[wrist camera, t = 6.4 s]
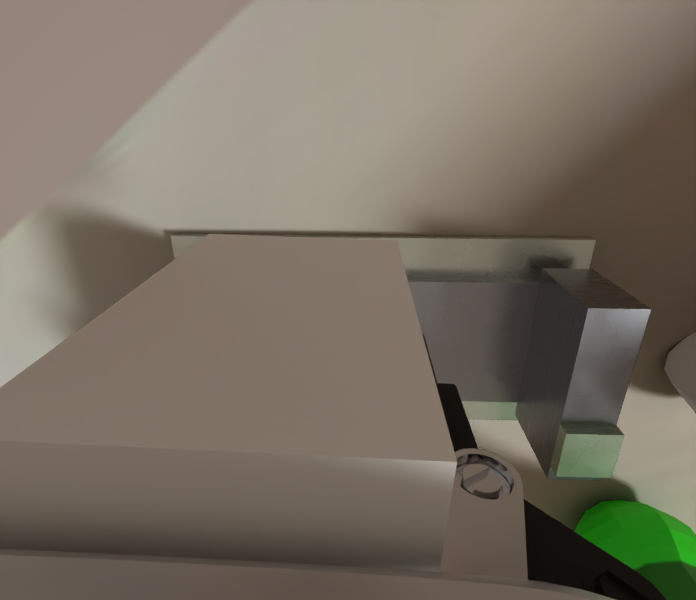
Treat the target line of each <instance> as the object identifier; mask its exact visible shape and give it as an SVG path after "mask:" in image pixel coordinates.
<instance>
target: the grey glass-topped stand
mask: <svg viewBox="0 0 696 600" xmlns="http://www.w3.org/2000/svg"><path fill="white" fill-rule="evenodd" d="M207 235H208V234H173V235H171V242H172V248H173V254H174V259H176V258H177V257H178V256H180V255H181V254H183V253H184V252H185V251H187V250H188V249H189V248H191V247H192V246H193V245H195V244H196V243H197V242H199V241H200V240H201V239H203V238H204V237H206V236H207ZM230 235H258V236H285V237H313V238H340V239H368V240H395V241H397V243H398V247H399V250H400V254H401V258H402V261H403V265H404V269H405V272H406V276H407V280H408V283H409V287H410V291H411V294H412V298H413V302H414V305H415V309H416V313H417V316H418V320H419V324H420V327H421V331H422V334H424V336H425V340H426V344H427V347H428V351H429V354H430V358H431V362H432V365H433V369H434V372H435V376H436V380H437V383H446V384H455V385H456V387H457V389H458V392H459V395H460V398H461V401H462V404H463V407H464V410H465V413H466V416H467V419H481V420H518V421H519V423H520V425H521V427H522V429H523V431H524V433H525V435H526V437H527V439H528V441H529V443H530V445H531V447H532V449H533V451H534V453H535V455H536V457H537V459H538V461H539V463H540V465H541V467H542V469H543V471H544V473H545V475H546V477H547V479H567V480H600V478H611V477H612V473H613V470H614V467H615V464H616V461H617V458H618V454H619V451H620V448H621V445H622V442H623V439H624V434H623V433H622V432H621V430H620V429H619V428H618V427H617V425H616V424H617V421H618V418H619V414H620V411H621V408H622V404H623V401H624V398H625V395H626V391H627V388H628V385H629V381H630V378H631V375H632V371H633V368H634V365H635V362H636V358H637V355H638V352H639V348H640V345H641V342H642V338H643V335H644V332H645V329H646V325H647V322H648V319H649V315H650V312H651V309H650V308H649V307H647V306H646V305H644V304H643V303H641V302H640V301H638V300H637V299H635V298H634V297H633V296H631V295H630V294H628V293H627V292H625V291H624V290H622V289H621V288H619V287H618V286H616V285H615V284H613V283H612V282H610V281H609V280H607V279H606V278H604V277H603V276H602V275H600V274H599V273H597V272H596V271H594V270H593V269H589V268H590V264H591V260H592V255H593V251H594V247H595V242H596V240H595V239H593V238H591V237H487V236H380V235H273V234H230Z"/></svg>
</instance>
